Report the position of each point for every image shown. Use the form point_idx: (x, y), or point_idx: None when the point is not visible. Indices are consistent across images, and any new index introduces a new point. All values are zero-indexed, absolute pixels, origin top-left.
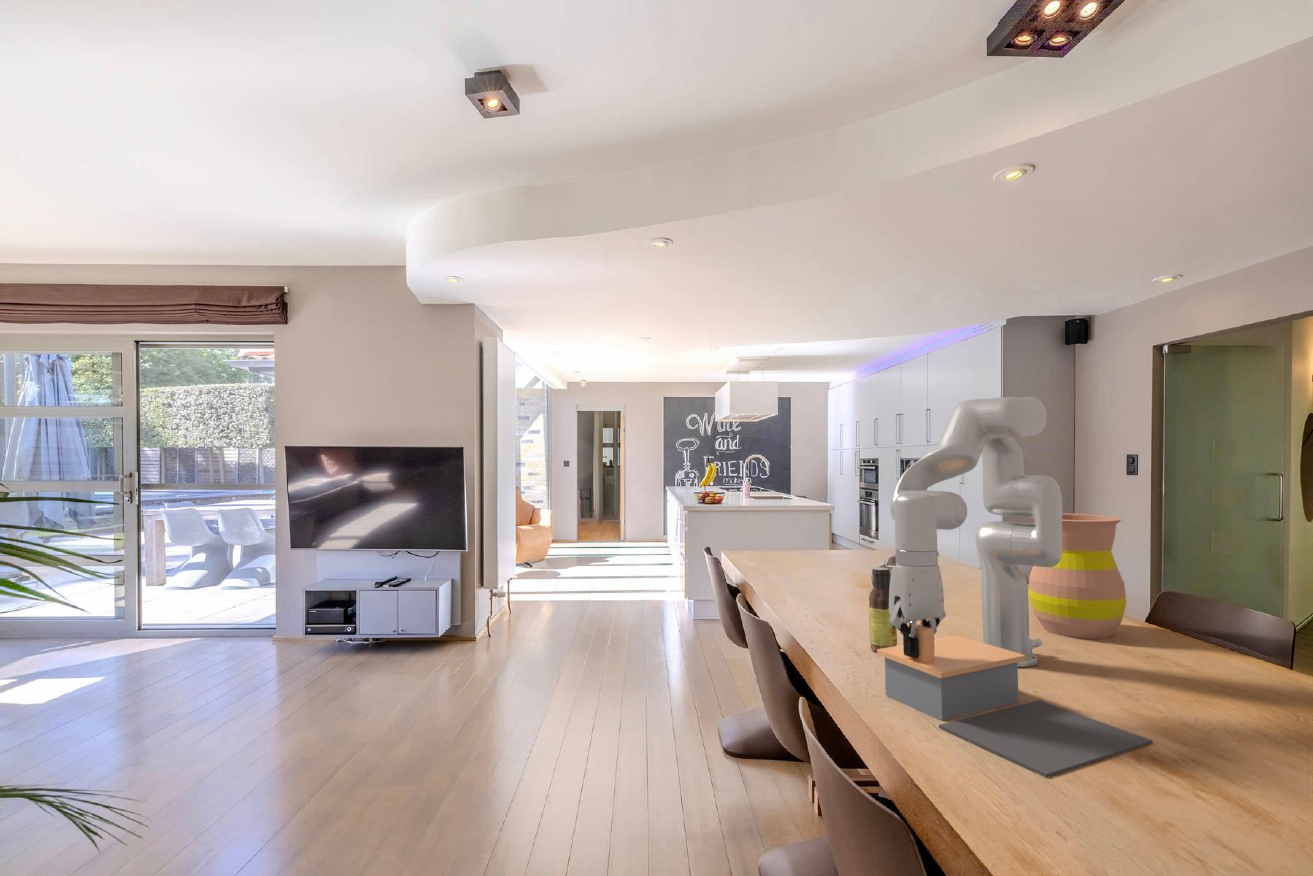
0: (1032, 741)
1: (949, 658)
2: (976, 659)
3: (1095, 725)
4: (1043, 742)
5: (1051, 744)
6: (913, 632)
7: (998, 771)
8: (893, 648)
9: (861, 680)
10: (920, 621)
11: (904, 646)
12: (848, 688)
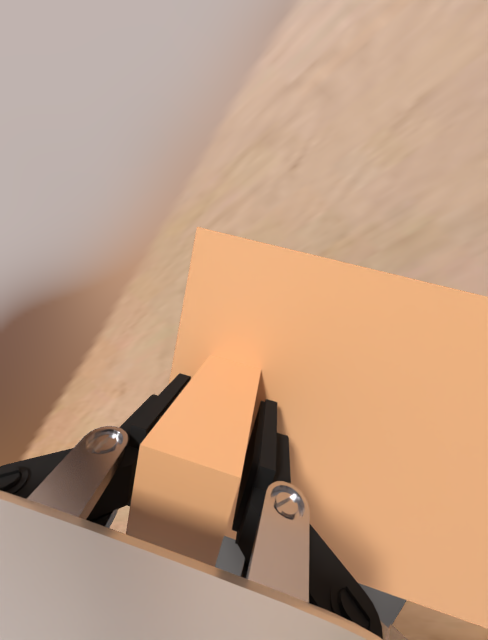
0: (231, 540)
1: (304, 481)
2: (362, 546)
3: (379, 597)
4: (239, 552)
5: (241, 561)
6: (100, 518)
7: (116, 521)
8: (264, 270)
9: (301, 135)
10: (254, 547)
11: (143, 406)
12: (216, 158)
